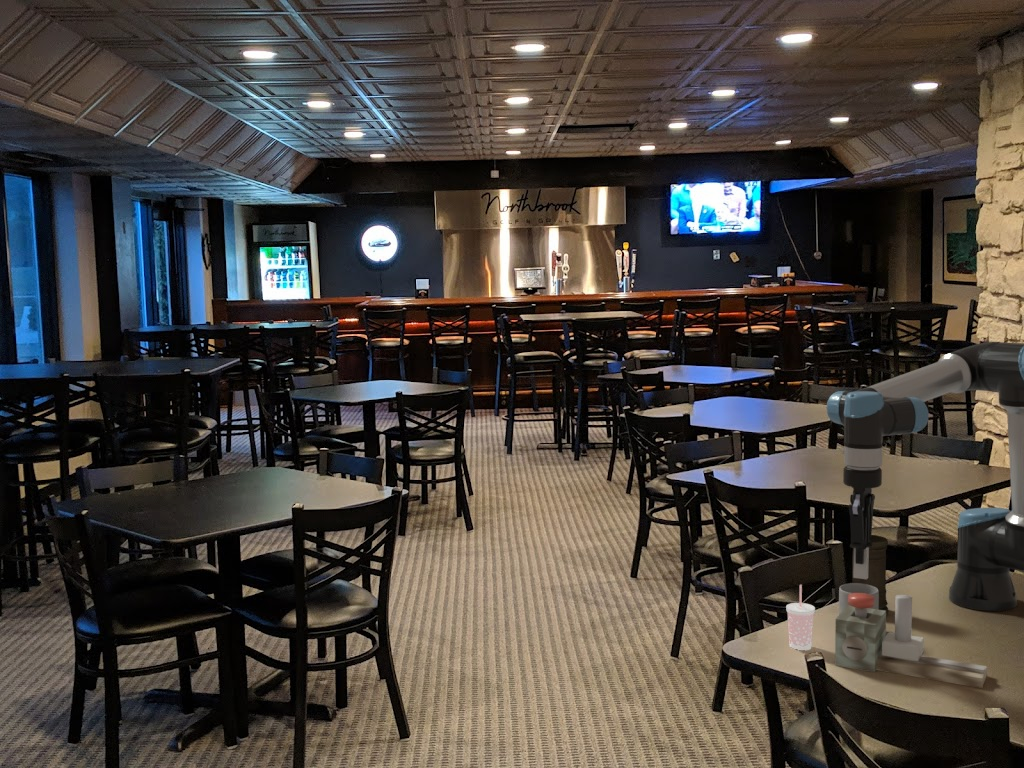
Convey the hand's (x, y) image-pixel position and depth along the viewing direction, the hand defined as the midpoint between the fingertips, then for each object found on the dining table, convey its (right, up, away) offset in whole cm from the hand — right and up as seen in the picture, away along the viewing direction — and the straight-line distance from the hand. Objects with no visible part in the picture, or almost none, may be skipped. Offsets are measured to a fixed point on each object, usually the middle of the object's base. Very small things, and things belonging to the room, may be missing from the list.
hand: (860, 577), depth 216 cm
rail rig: (+9, -18, -3) cm, 21 cm away
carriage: (+8, -15, -3) cm, 17 cm away
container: (+13, -14, +32) cm, 38 cm away
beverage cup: (-10, -17, +11) cm, 23 cm away
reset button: (0, -10, +1) cm, 10 cm away
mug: (+6, -16, +18) cm, 25 cm away
